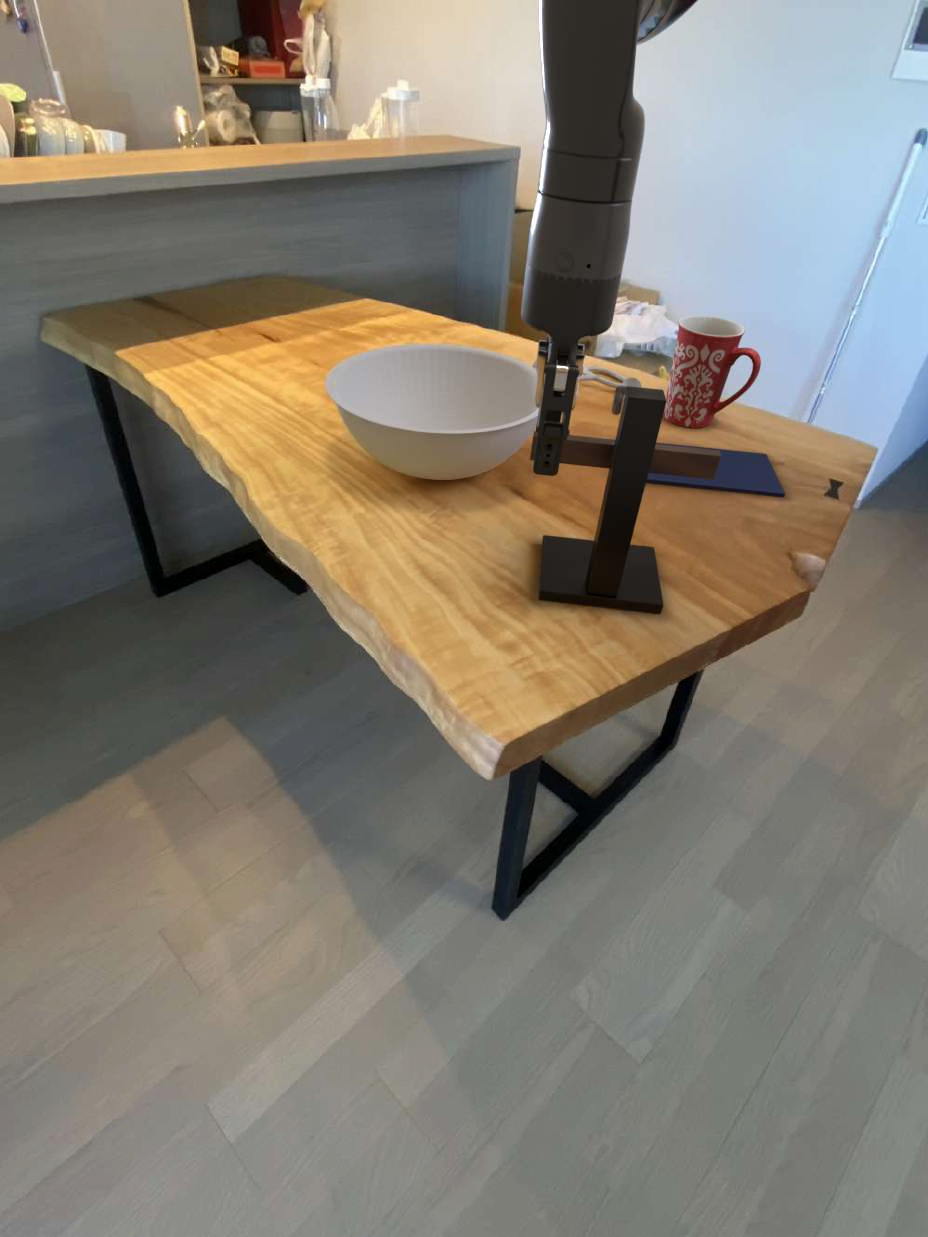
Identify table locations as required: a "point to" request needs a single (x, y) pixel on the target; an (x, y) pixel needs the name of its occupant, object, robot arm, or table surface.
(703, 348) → the mug
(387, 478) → the table surface
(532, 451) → the hanger
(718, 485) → the mat
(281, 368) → the table surface
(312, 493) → the table surface
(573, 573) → the coat stand
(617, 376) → the hook
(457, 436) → the bowl
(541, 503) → the table surface
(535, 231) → the robot arm
